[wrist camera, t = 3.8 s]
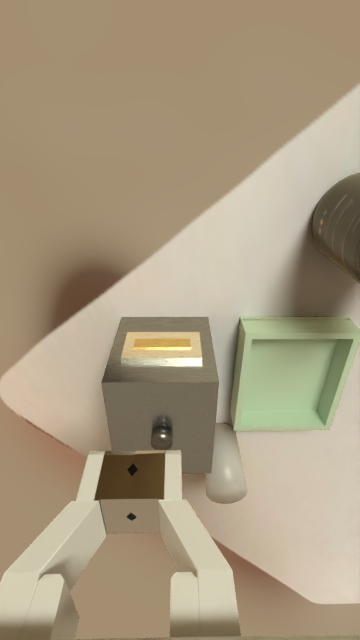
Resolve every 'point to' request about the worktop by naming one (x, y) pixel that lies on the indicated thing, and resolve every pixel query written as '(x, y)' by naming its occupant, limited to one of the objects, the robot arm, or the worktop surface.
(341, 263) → the supplement bottle
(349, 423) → the worktop surface
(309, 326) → the tray
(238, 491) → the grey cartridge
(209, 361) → the box
